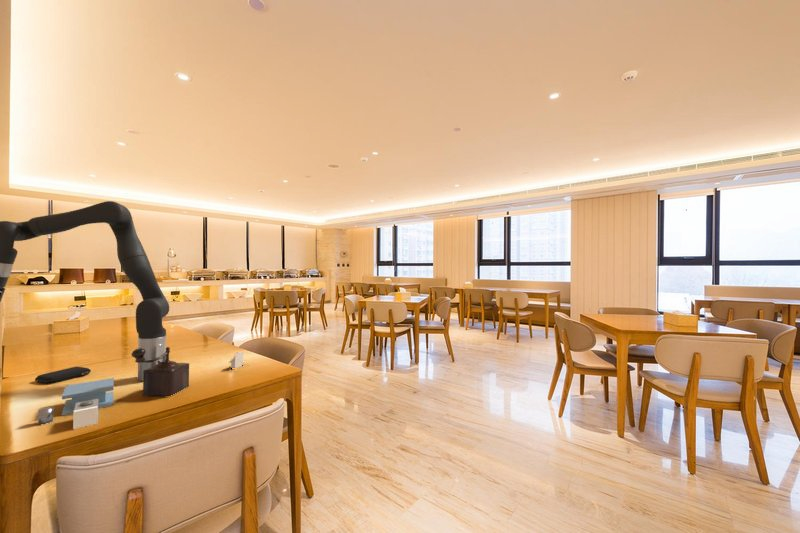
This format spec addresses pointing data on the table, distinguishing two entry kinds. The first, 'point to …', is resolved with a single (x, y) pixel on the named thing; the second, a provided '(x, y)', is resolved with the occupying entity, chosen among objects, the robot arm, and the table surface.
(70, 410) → the stand
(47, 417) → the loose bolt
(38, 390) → the table surface
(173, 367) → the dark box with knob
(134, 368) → the table surface
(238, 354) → the architectural model
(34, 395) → the table surface
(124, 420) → the table surface
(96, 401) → the block
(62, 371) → the carrying case or bag
